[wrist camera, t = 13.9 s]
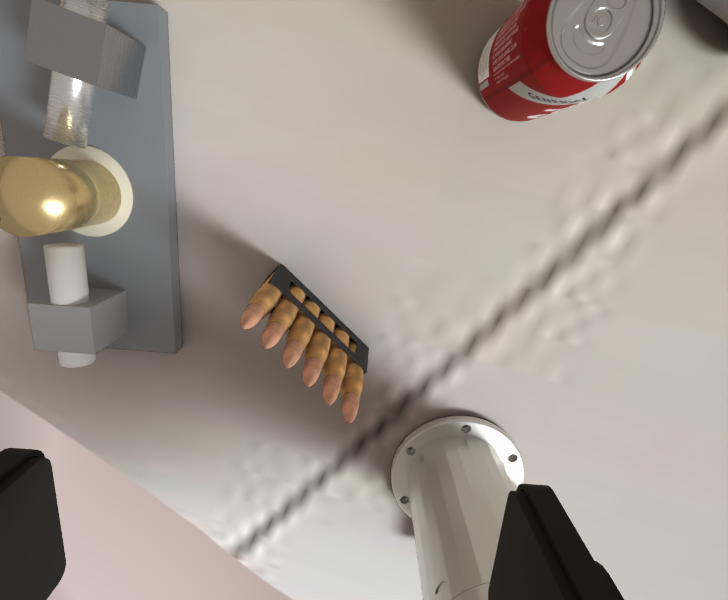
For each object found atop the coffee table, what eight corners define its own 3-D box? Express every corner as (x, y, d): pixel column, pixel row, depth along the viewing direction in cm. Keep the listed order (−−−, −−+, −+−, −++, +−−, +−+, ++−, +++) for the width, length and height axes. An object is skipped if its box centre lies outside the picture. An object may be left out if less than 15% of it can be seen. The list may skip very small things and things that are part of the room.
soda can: (457, 92, 32) (506, 47, 21) (509, 2, 31) (595, -101, 19) (530, 139, 33) (616, 122, 22) (584, 55, 32) (710, -14, 20)
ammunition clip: (266, 278, 36) (220, 326, 25) (281, 263, 36) (241, 305, 25) (354, 361, 39) (349, 441, 27) (369, 348, 38) (370, 423, 27)
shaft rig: (182, 346, 38) (147, 379, 32) (46, 336, 38) (-14, 367, 32) (167, 12, 31) (118, -27, 25) (-2, -3, 31) (-91, -46, 25)
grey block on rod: (126, 155, 32) (86, 152, 28) (67, 134, 32) (16, 128, 27) (149, 26, 30) (110, 0, 25) (86, 2, 29) (34, -29, 25)
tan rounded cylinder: (118, 162, 32) (53, 159, 26) (123, 226, 34) (63, 239, 27) (53, 157, 32) (-29, 153, 25) (62, 222, 34) (-15, 234, 27)
